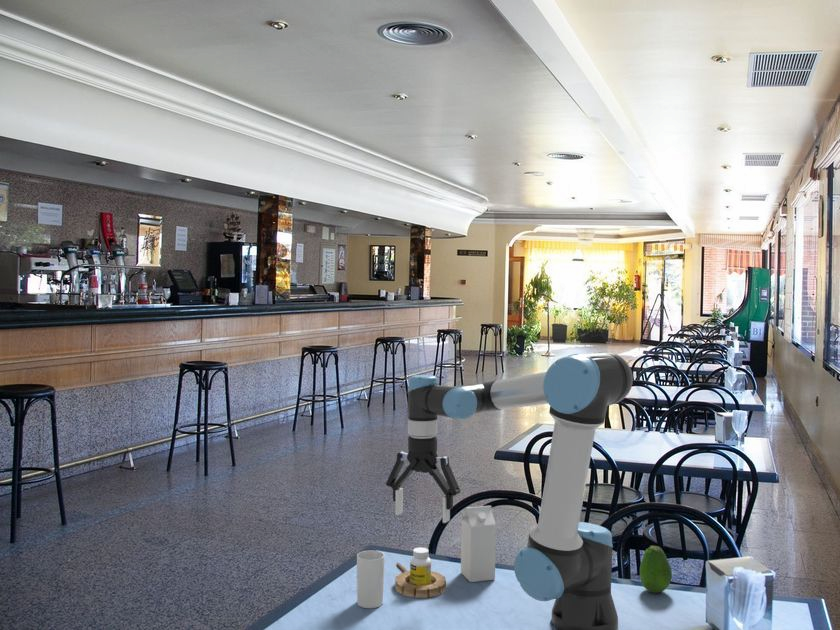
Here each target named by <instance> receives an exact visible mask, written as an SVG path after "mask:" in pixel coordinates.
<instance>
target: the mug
mask: <svg viewBox="0 0 840 630" xmlns="http://www.w3.org/2000/svg"><path fill="white" fill-rule="evenodd" d="M384 577H385V553H384V552H383V551H381V550H374V549H372V550H369V549H368V550H363V551H360V552H358V553H357V554H356V595H357V596H356V600H357V601H356V603H357V605H358V606H359V607H361V608H365V609H376V608H380V607H381V606H382V605H383V602H384V587H385V585H384V584H385V580H384Z"/></svg>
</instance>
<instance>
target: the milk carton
mask: <svg viewBox="0 0 840 630" xmlns="http://www.w3.org/2000/svg"><path fill="white" fill-rule="evenodd" d="M465 511H466V512H465V513H464V514H463V516H462V517H461V533H460V534H461V542H460V544H461V545H460V548H461V549H460V573H461V574H462V576H464V577H465V578H466V579H467V581H469V583H474V582H476V583H477V582H484V581H493V580H494V581H495V579H496V543H497V541H496V538H497V537H496V536H497V533H496V531H497V524H496V521H495V518H494V514H493V511H492V505H485V506H484V505H483V506H482V505H481V506H470V507H468V506H467V507H466V508H465Z"/></svg>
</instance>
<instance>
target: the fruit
mask: <svg viewBox="0 0 840 630" xmlns="http://www.w3.org/2000/svg"><path fill="white" fill-rule="evenodd" d="M671 567H672V566H671V564H670V562H669V560H668V557H667V556H666V553H665V552H664V550H663V549H662V547H660V546H657V545H650V546H649V547H648V548H646V549H645V551H644V554H643V557H642V559H641V561H640V566H639V578H640V581H641V585H642V586H643V587H644V589H645V590H647V591H648V592H650V593H653V594H656V593H657V594H658V593H661V592H664V591H665V590H666V589H668V588H669V586H670V584H671V581H672V578H673V573H672V568H671Z"/></svg>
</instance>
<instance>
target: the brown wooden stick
mask: <svg viewBox="0 0 840 630" xmlns="http://www.w3.org/2000/svg"><path fill="white" fill-rule="evenodd" d="M396 566H397V567H398V568H399V569H400V570H401V571H402V573H403V572H407V571H408V570H407V569H406V568H405V567H404V566H403V565H402V564H401V563H400V562H396Z"/></svg>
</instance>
